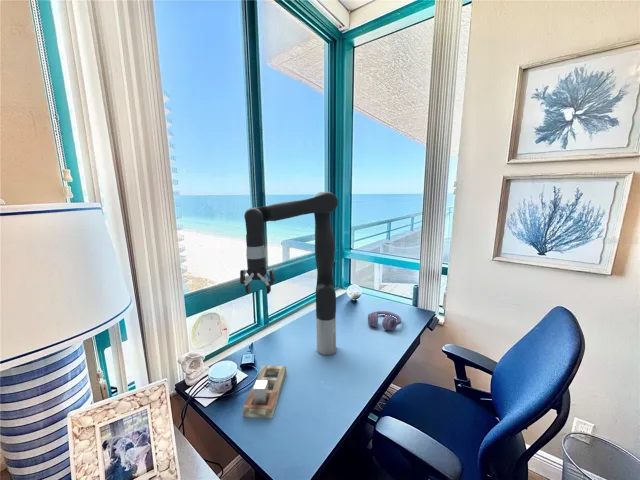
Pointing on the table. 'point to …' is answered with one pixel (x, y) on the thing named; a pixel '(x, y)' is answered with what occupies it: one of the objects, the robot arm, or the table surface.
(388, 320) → the headphones
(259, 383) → the steel peg
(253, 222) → the robot arm
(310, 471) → the table surface
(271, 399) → the wooden slotted board
